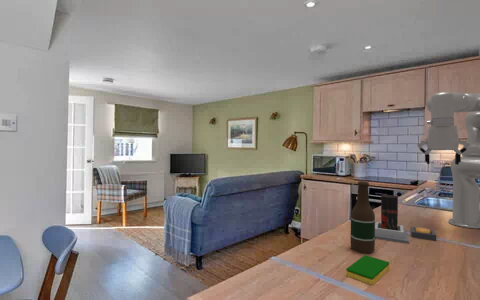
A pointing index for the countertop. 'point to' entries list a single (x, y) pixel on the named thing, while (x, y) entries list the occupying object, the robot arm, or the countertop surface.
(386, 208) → the deodorant
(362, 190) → the beer bottle
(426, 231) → the button
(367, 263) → the dish sponge
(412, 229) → the button housing
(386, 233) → the grey rectangular tray
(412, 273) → the countertop surface
